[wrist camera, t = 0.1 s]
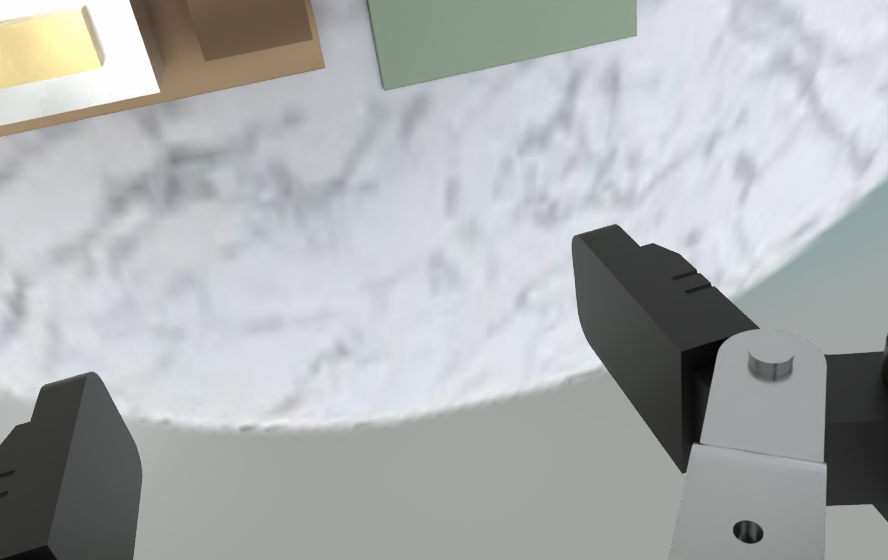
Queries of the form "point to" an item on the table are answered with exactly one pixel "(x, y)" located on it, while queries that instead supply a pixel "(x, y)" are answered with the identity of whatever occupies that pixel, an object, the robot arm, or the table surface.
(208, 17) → the wooden pegged stand
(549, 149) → the table surface
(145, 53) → the butter dish
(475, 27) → the rubber mat
